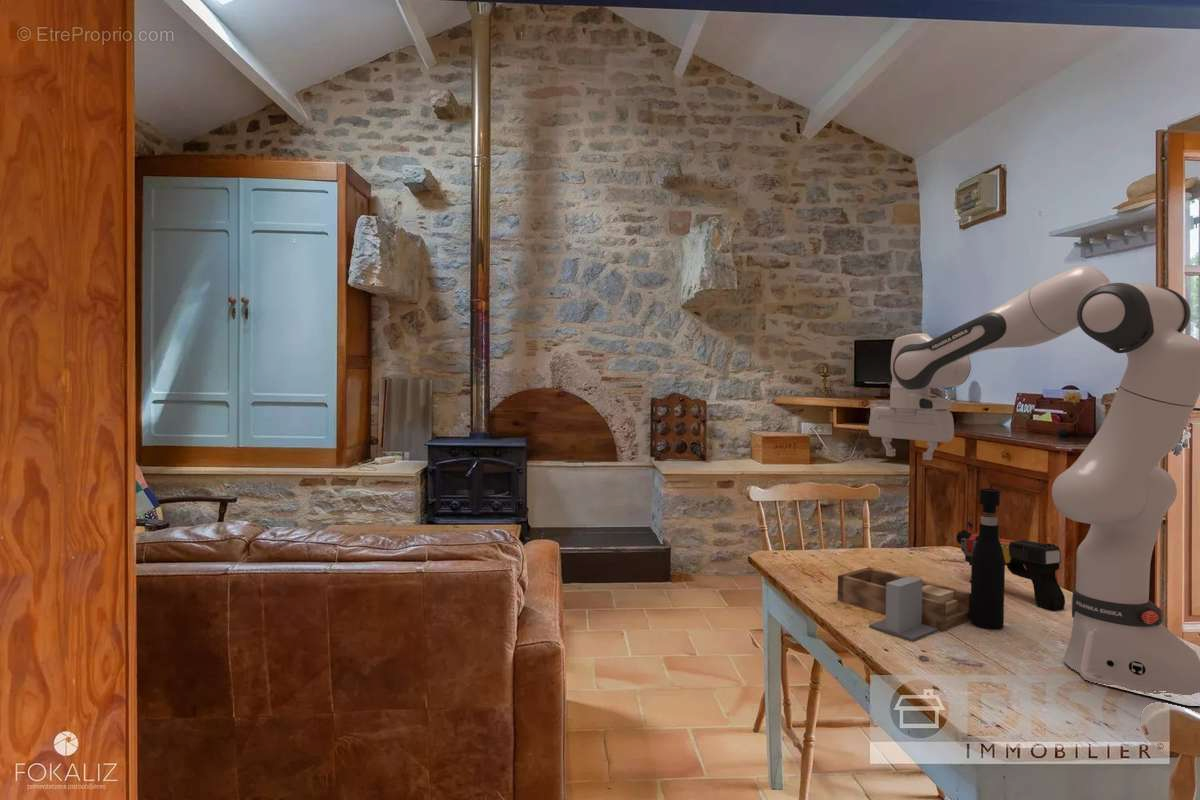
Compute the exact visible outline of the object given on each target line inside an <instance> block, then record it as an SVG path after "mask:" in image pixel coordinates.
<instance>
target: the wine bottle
mask: <svg viewBox="0 0 1200 800" xmlns="http://www.w3.org/2000/svg"><path fill="white" fill-rule="evenodd" d="M1000 496H1001V491H1000V490H999V489H996V488H980V489H979V505H981V506H982V512H981V513H982V515H981V516H980V523H979V525H978V526H979V527H978V534H979V537H978V540H977V542H976V544H975V547H974V550H973V555H972V566H971V569H970V570H971V571H970V573H971V574H970V575H971V577H970V580H971V583H970V593H971V614H970V620H969V621H970V623H971V625H972V626H976V627H977V628H980V629H986V630H992V631H993V630H1001V629H1004V622H1005V621H1004V619H1005V618H1004V617H1005V616H1004V615H1005V581H1006V580H1005V578H1006V577H1005V576H1006V573H1005V572H1006V565H1005V559H1004V554H1003V549H1002V546H1001V544H1000V541H999V536H1000V533H999V530H1000V529H999V528H1000V527H999V526H1000V525H999V522H998V516H997V509H996V508H997V507H998V506H1000V505H1001V503H1000V501H1001V500H1000V499H1001V497H1000Z"/></svg>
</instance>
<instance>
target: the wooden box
mask: <svg viewBox="0 0 1200 800" xmlns="http://www.w3.org/2000/svg"><path fill="white" fill-rule="evenodd" d="M905 577H907V576H905V575H901V574H897V573H895V572H894V573H893V572H890V571H885V570H882V569H877V568H874V567H865V568H862V569H858V570H854V571H851V572H847V573H843V574H839V575H837V601H839V602H844V603H846V602H847V603H846V604H849V603H850V604H849V605H853V606H856V605H857V606H856V607H859V606H860V608H862V607H863V609H866V610H870V611H873V612H876V613H878V614H882V615H885V616H886V583H888V582H892V581H895V580H898V579H902V578H905ZM927 585H931V586H935V587H939V588H943V589H947V590H951V591H954V600H958V613H956V614H953V615H950V616H948V617H945V614H946V603H945V602H941V601H937V600H933V599H930V598H926V597H922V624H924V625H927V626H931V627H934V628H937V629H938V632H944V631H947V630H949V629H951V628H954V627H956V626H959V625H962V624H964V623H966V622H968V621H970V614H971V591H970V592H969V591H965V590H962V589H956V588H953V587H949V586H944V585H942V584H937V583H934V582H933V583H932V582H929V581H925V580H922V587H923V586H927Z"/></svg>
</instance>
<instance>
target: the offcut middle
mask: <svg viewBox="0 0 1200 800" xmlns="http://www.w3.org/2000/svg"><path fill="white" fill-rule="evenodd" d="M957 611H958V600H953V601H950V602H947V603H946V614H945V616H947V615H949V614H952V613H955V612H957Z"/></svg>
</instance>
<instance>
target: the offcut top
mask: <svg viewBox="0 0 1200 800" xmlns="http://www.w3.org/2000/svg"><path fill="white" fill-rule="evenodd" d="M922 597H926V598H930V599H933V600H937V601H941V602H945V603H947V602H950V601H953V600H954V591H951V590H947V589H943V588H939V587H935V586H931V585H927V586H923V587H922Z"/></svg>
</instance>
